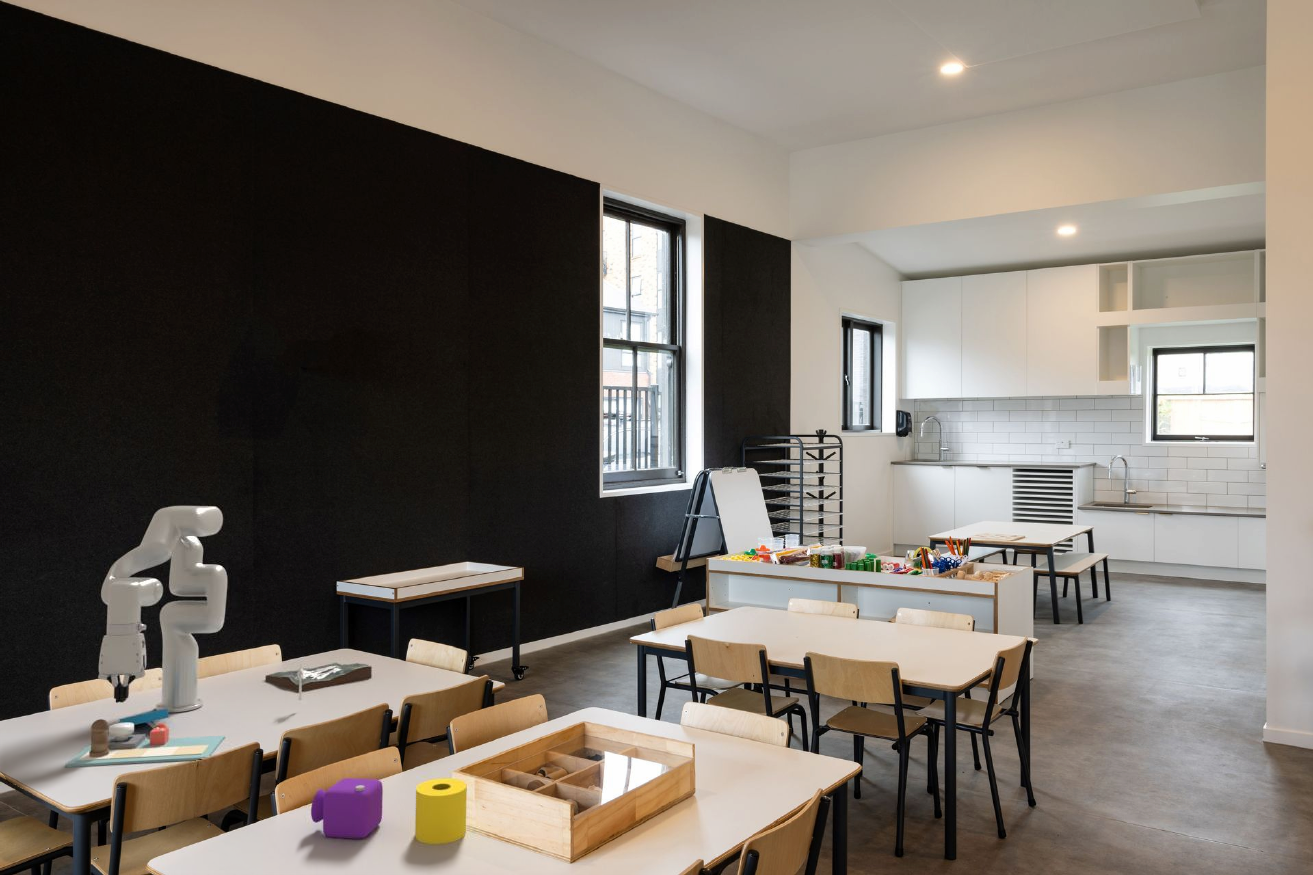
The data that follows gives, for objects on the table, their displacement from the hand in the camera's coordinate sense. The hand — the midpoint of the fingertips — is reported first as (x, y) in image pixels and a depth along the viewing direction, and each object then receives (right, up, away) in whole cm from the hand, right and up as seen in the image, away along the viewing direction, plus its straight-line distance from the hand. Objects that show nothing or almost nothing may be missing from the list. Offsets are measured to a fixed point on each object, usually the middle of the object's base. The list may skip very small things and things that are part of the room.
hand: (121, 701), depth 241 cm
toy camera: (+75, -12, -51) cm, 91 cm away
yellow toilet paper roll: (+94, -13, -51) cm, 108 cm away
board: (+9, -12, -3) cm, 15 cm away
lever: (-2, -13, +16) cm, 20 cm away
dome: (0, -10, 0) cm, 10 cm away
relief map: (+28, -14, +63) cm, 70 cm away
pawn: (-1, -11, -8) cm, 14 cm away
